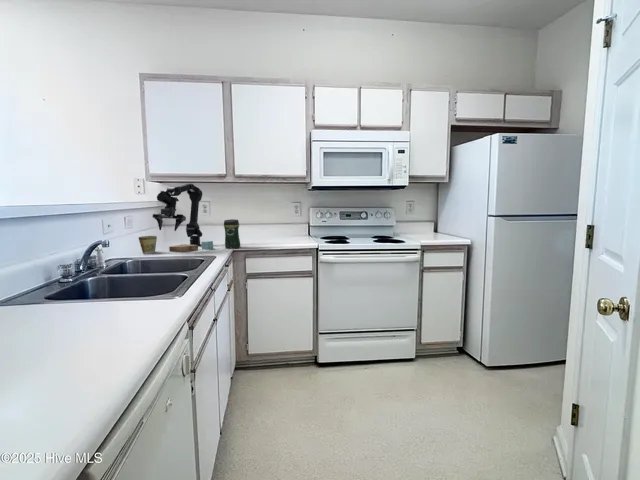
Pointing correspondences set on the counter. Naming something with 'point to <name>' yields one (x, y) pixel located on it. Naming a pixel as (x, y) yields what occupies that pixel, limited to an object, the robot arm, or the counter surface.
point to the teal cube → (207, 245)
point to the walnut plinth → (183, 248)
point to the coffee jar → (231, 233)
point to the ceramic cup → (148, 244)
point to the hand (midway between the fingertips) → (167, 230)
